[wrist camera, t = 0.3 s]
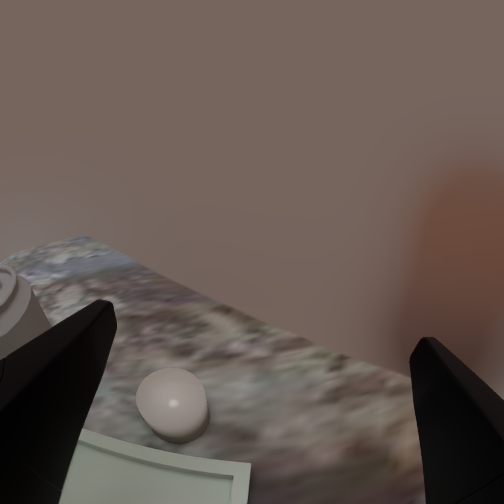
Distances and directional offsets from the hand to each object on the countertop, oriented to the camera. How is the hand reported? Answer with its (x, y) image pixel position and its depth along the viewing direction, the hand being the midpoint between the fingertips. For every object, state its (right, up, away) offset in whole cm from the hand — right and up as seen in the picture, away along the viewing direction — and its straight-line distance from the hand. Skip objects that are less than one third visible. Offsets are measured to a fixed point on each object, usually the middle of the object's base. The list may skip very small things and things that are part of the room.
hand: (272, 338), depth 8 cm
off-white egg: (-6, -11, +13) cm, 18 cm away
